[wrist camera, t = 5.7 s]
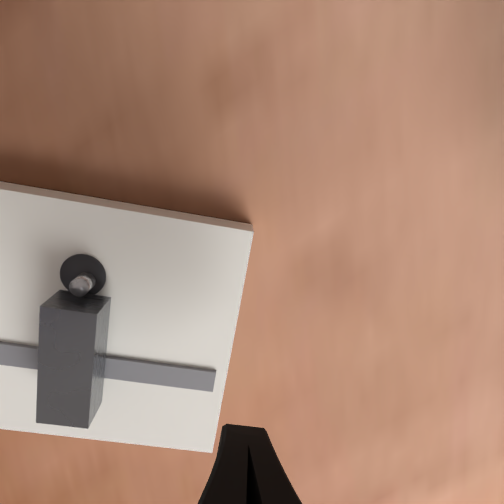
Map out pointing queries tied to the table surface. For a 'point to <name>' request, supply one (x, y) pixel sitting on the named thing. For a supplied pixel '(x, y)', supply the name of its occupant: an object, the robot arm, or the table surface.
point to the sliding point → (72, 354)
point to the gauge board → (124, 310)
